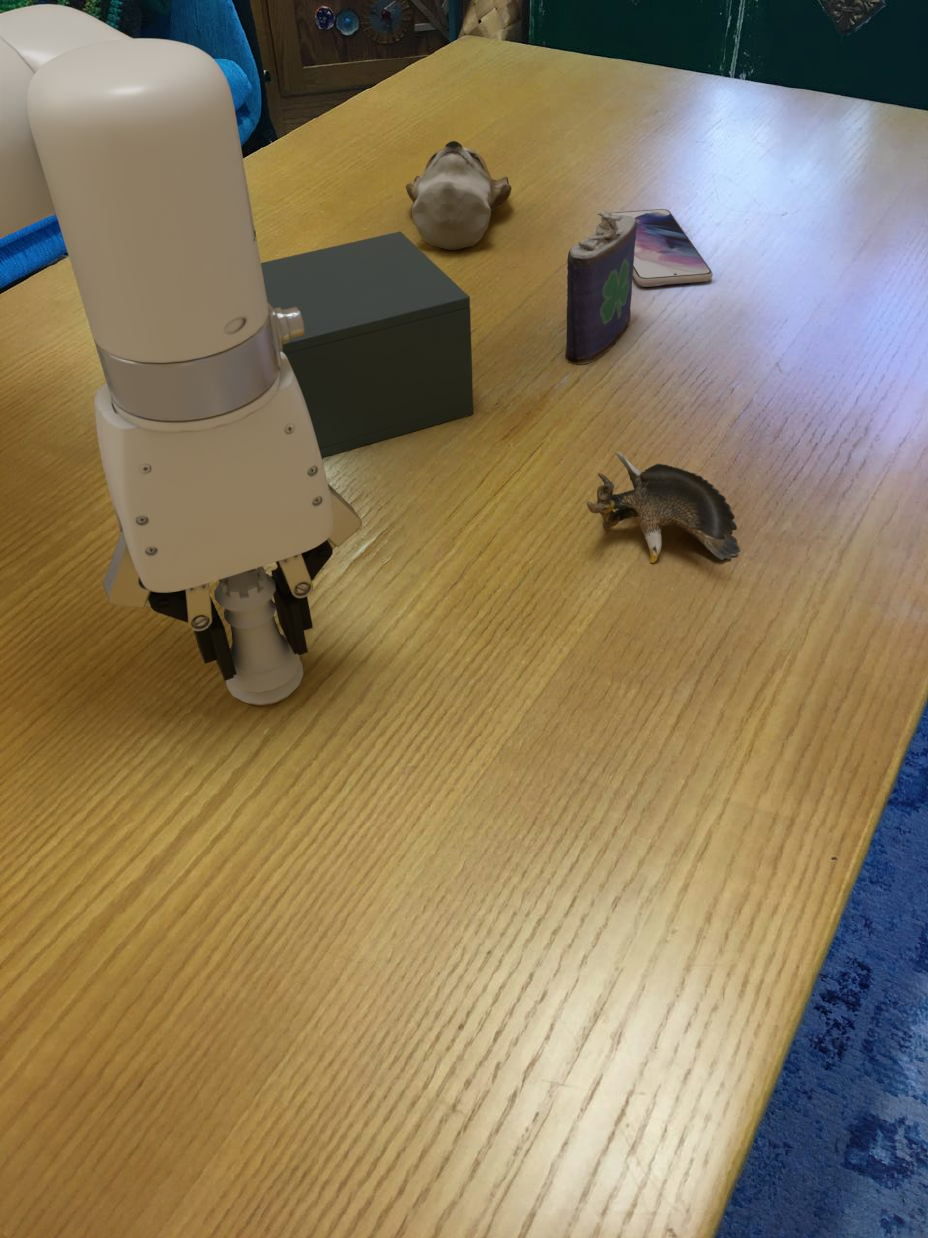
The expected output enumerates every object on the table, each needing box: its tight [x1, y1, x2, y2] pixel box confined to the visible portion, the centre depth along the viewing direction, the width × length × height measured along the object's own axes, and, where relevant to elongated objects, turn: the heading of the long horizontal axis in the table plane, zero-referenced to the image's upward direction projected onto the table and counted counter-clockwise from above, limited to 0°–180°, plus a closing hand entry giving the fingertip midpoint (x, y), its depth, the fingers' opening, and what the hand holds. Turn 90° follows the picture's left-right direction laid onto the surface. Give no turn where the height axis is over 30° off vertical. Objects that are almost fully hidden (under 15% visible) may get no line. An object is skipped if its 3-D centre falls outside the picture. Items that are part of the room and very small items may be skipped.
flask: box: [565, 210, 637, 365], centre depth 85 cm, size 9×3×11 cm, turn 148°
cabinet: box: [261, 231, 474, 459], centre depth 80 cm, size 16×13×10 cm
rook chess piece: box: [213, 566, 304, 707], centre depth 59 cm, size 4×4×8 cm
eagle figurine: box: [586, 451, 741, 564], centre depth 67 cm, size 8×7×9 cm
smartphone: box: [600, 208, 714, 288], centre depth 100 cm, size 7×1×15 cm
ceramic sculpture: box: [405, 140, 512, 251], centre depth 103 cm, size 11×9×15 cm
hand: (258, 648), depth 60 cm, fingers closed on rook chess piece, 3 cm apart
